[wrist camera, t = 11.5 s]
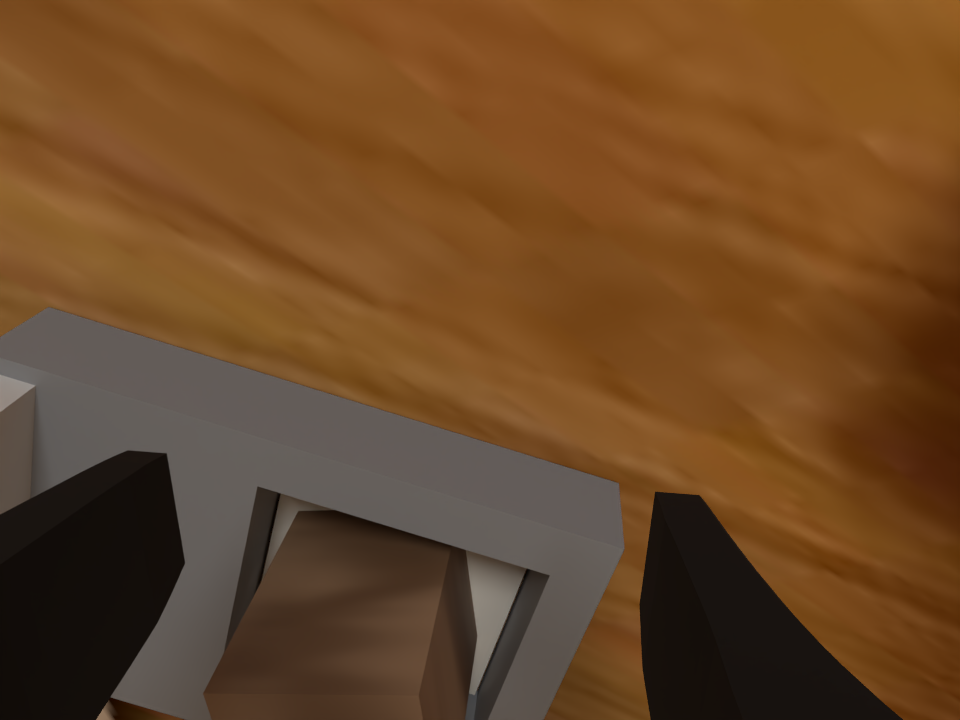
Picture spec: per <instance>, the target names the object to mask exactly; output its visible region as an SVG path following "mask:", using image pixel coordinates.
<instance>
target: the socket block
mask: <svg viewBox="0 0 960 720" xmlns="http://www.w3.org/2000/svg"><path fill="white" fill-rule="evenodd" d="M127 450H131V451H144V452H157V453H167V457H168V463H169V469H170V475H171V481H172V487H173V493H174V499H175V505H176V511H177V517H178V523H179V529H180V535H181V541H182V547H183V553H184V559H185V565H184V567H183V569H182V571H181V574H180V576H179V578H178V581H177V583H176V585H175V587H174V590H173V592H172V594H171V596H170V598H169V601H168V603H167V605H166V607H165V609H164V611H163V613H162V615H161V617H160V619H159V621H158V623H157V625H156V626H155V628H154V630H153V631H152V633H151V634H150V636H149V638H148V639H147V641H146V642H145V644H144V646H143V647H142V649H141V650H140V652H139V653H138V655H137V657H136V658H135V660H134V661H133V663H132V665H131V666H130V668H129V669H128V671H127V672H126V674H125V675H124V677H123V679H122V680H121V682H120V683H119V685H118V686H117V688H116V689H115V691H114V692H113V694H112V696H111V698H114V699H118V700H121V701H125V702H128V703H131V704H135V705H138V706H141V707H145V708H148V709H152V710H155V711H158V712H162V713H165V714H169V715H172V716H175V717H179V718H182V719H185V720H212V719H211V716H210V713H209V710H208V707H207V704H206V701H205V698H204V695H203V692H204V691H205V689H206V687H207V685H208V683H209V681H210V679H211V677H212V675H213V673H214V671H215V669H216V668H217V666H218V664H219V662H220V660H221V658H222V656H223V654H224V652H225V650H226V648H227V646H228V645H229V643H230V641H231V639H232V637H233V635H234V633H235V631H236V629H237V627H238V625H239V623H240V622H241V620H242V618H243V616H244V614H245V612H246V610H247V608H248V606H249V604H250V602H251V600H252V599H253V597H254V595H255V593H256V591H257V589H258V587H259V585H260V580H261V576H262V571H263V566H264V562H265V557H266V553H267V548H268V543H269V539H270V534H271V530H272V525H273V521H274V516H275V511H276V507H277V502H278V498H279V493H281V495H280V499H279V504H278V508H277V513H276V518H275V522H274V527H273V531H272V536H271V540H270V545H269V549H268V554H267V559H266V563H265V568H264V572H263V577H264V576H265V574H266V572H267V570H268V568H269V566H270V564H271V562H272V560H273V558H274V556H275V554H276V553H277V551H278V549H279V547H280V545H281V543H282V541H283V539H284V537H285V535H286V533H287V531H288V530H289V528H290V526H291V524H292V522H293V520H294V518H295V516H296V514H297V512H298V511H318V510H337V511H340V512H343V513H347V514H350V515H353V516H356V517H360V518H363V519H366V520H370V521H373V522H376V523H379V524H383V525H386V526H389V527H393V528H396V529H399V530H402V531H406V532H409V533H412V534H415V535H419V536H422V537H425V538H429V539H432V540H435V541H438V542H442V543H445V544H448V545H452V546H455V547H458V548H461V549H465V550H466V556H467V563H468V570H469V578H470V585H471V592H472V600H473V607H474V614H475V622H476V629H477V642H476V649H475V656H474V663H473V669H472V676H471V683H470V689H469V696H468V703H467V709H466V716H465V720H544V718H545V716H546V713H547V711H548V709H549V707H550V705H551V703H552V701H553V699H554V697H555V694H556V692H557V690H558V688H559V686H560V684H561V682H562V680H563V678H564V675H565V673H566V671H567V669H568V667H569V665H570V663H571V661H572V659H573V656H574V654H575V652H576V650H577V648H578V646H579V644H580V642H581V640H582V637H583V635H584V633H585V631H586V629H587V627H588V625H589V623H590V621H591V619H592V616H593V614H594V612H595V610H596V608H597V606H598V604H599V602H600V600H601V597H602V595H603V593H604V591H605V589H606V587H607V585H608V583H609V581H610V578H611V576H612V574H613V572H614V570H615V568H616V566H617V564H618V562H619V559H620V557H621V555H622V553H623V551H624V539H623V527H622V516H621V504H620V493H619V483H616V482H613V481H610V480H606V479H603V478H600V477H597V476H593V475H590V474H587V473H584V472H581V471H577V470H574V469H571V468H568V467H564V466H561V465H558V464H555V463H551V462H548V461H545V460H542V459H538V458H535V457H532V456H529V455H526V454H522V453H519V452H516V451H513V450H509V449H506V448H503V447H500V446H496V445H493V444H490V443H487V442H483V441H480V440H477V439H474V438H470V437H467V436H464V435H461V434H458V433H454V432H451V431H448V430H445V429H441V428H438V427H435V426H432V425H428V424H425V423H422V422H419V421H415V420H412V419H409V418H406V417H403V416H399V415H396V414H393V413H390V412H386V411H383V410H380V409H377V408H373V407H370V406H367V405H364V404H360V403H357V402H354V401H351V400H348V399H344V398H341V397H338V396H335V395H331V394H328V393H325V392H322V391H318V390H315V389H312V388H309V387H305V386H302V385H299V384H296V383H293V382H289V381H286V380H283V379H280V378H276V377H273V376H270V375H267V374H263V373H260V372H257V371H254V370H250V369H247V368H244V367H241V366H237V365H234V364H231V363H228V362H225V361H221V360H218V359H215V358H212V357H208V356H205V355H202V354H199V353H195V352H192V351H189V350H186V349H182V348H179V347H176V346H173V345H170V344H166V343H163V342H160V341H157V340H153V339H150V338H147V337H144V336H140V335H137V334H134V333H131V332H127V331H124V330H121V329H118V328H115V327H111V326H108V325H105V324H102V323H98V322H95V321H92V320H89V319H85V318H82V317H79V316H76V315H72V314H69V313H66V312H63V311H60V310H56V309H53V308H50V307H48V308H46V309H45V310H43V311H42V312H40V313H38V314H37V315H35V316H34V317H32V318H30V319H29V320H27V321H25V322H24V323H22V324H21V325H19V326H17V327H16V328H14V329H13V330H11V331H9V332H8V333H6V334H5V335H3V336H1V337H0V514H2V513H4V512H6V511H8V510H10V509H11V508H13V507H15V506H17V505H19V504H21V503H23V502H25V501H27V500H29V499H31V498H33V497H34V496H36V495H38V494H40V493H42V492H44V491H46V490H48V489H50V488H52V487H54V486H56V485H57V484H59V483H61V482H63V481H65V480H67V479H69V478H71V477H73V476H75V475H77V474H79V473H80V472H82V471H84V470H86V469H88V468H90V467H92V466H94V465H96V464H98V463H100V462H102V461H104V460H107V459H109V458H111V457H113V456H115V455H118V454H120V453H123V452H125V451H127ZM526 569H528V570H527V572H526V575H525V577H524V580H523V582H522V584H521V581H522V579H523V576H524V574H525V571H526ZM263 577H262V579H263ZM520 584H521V587H520V589H519V592H518V594H517V597H516V599H515V601H514V598H515V596H516V593H517V591H518V588H519V586H520ZM513 601H514V604H513V606H512V603H513ZM511 606H512V609H511V611H510V614H509V616H508V619H507V621H506V623H505V620H506V618H507V615H508V613H509V610H510V608H511ZM504 623H505V626H504V628H503V631H502V633H501V636H500V638H499V640H498V637H499V635H500V632H501V630H502V627H503V625H504ZM497 640H498V643H497V645H496V642H497ZM495 645H496V648H495V650H494V653H493V655H492V657H491V654H492V652H493V649H494V647H495ZM490 657H491V660H490V662H489V659H490ZM488 662H489V665H488V667H487V664H488ZM486 667H487V670H486V672H485V675H484V677H483V679H482V676H483V674H484V671H485V669H486ZM481 679H482V682H481V684H480V681H481ZM479 684H480V687H479V689H478V691H477V688H478V686H479Z"/></svg>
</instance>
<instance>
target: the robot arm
mask: <svg viewBox="0 0 960 720" xmlns="http://www.w3.org/2000/svg"><path fill="white" fill-rule="evenodd" d="M184 565H185V559H184V553H183V547H182V541H181V535H180V529H179V523H178V517H177V511H176V505H175V499H174V493H173V487H172V481H171V475H170V469H169V463H168V457H167V453H157V452H144V451H131V450H127V451H125V452H123V453H120V454H118V455H115V456H113V457H111V458H109V459H107V460H104V461H102V462H100V463H98V464H96V465H94V466H92V467H90V468H88V469H86V470H84V471H82V472H80V473H79V474H77V475H75V476H73V477H71V478H69V479H67V480H65V481H63V482H61V483H59V484H57V485H56V486H54V487H52V488H50V489H48V490H46V491H44V492H42V493H40V494H38V495H36V496H34V497H33V498H31V499H29V500H27V501H25V502H23V503H21V504H19V505H17V506H15V507H13V508H11V509H10V510H8V511H6V512H4V513H2V514H0V720H96V719H97V717H98V716H99V714H100V713H101V711H102V709H103V708H104V706H105V705H106V703H107V702H108V700H109V699H110V697H111V696H112V694H113V692H114V691H115V689H116V688H117V686H118V685H119V683H120V682H121V680H122V679H123V677H124V675H125V674H126V672H127V671H128V669H129V668H130V666H131V665H132V663H133V661H134V660H135V658H136V657H137V655H138V653H139V652H140V650H141V649H142V647H143V646H144V644H145V642H146V641H147V639H148V638H149V636H150V634H151V633H152V631H153V630H154V628H155V626H156V625H157V623H158V621H159V619H160V617H161V615H162V613H163V611H164V609H165V607H166V605H167V603H168V601H169V598H170V596H171V594H172V592H173V590H174V587H175V585H176V583H177V581H178V578H179V576H180V574H181V571H182V569H183V567H184ZM640 623H641V645H642V664H643V674H644V680H645V687H646V693H647V699H648V705H649V711H650V717H651V720H903V719H902V718H900V717H899V716H898V715H897V714H896V713H895V712H893V711H892V710H891V709H890V708H889V707H887V706H886V705H885V704H884V703H883V702H882V701H881V700H879V699H878V698H877V697H876V696H875V695H874V694H873V693H872V692H871V691H870V690H869V689H867V688H866V687H865V686H864V685H863V684H862V683H861V682H860V681H859V680H858V679H857V678H855V677H854V676H853V675H852V674H851V673H850V672H849V671H848V670H847V669H846V668H845V667H843V666H842V665H841V664H840V663H839V662H838V661H837V660H836V659H835V658H834V657H833V656H832V655H831V654H830V653H829V652H828V651H827V650H826V649H825V648H824V647H823V646H822V645H821V644H820V643H819V642H818V641H817V640H816V638H815V637H814V636H813V635H812V634H811V633H810V632H809V631H808V630H807V629H806V628H805V627H804V626H803V625H802V624H801V622H800V621H799V620H798V619H797V618H796V617H795V616H794V615H793V613H792V612H791V611H790V610H789V609H788V608H787V607H786V605H785V604H784V603H783V602H782V601H781V600H780V598H779V597H778V596H777V595H776V594H775V592H774V591H773V590H772V589H771V588H770V586H769V585H768V584H767V583H766V582H765V580H764V579H763V578H762V577H761V576H760V574H759V573H758V572H757V571H756V569H755V568H754V567H753V566H752V564H751V563H750V562H749V561H748V559H747V558H746V557H745V555H744V554H743V553H742V551H741V550H740V549H739V547H738V546H737V545H736V544H735V542H734V541H733V540H732V538H731V537H730V536H729V534H728V533H727V531H726V530H725V529H724V527H723V526H722V525H721V523H720V522H719V521H718V519H717V518H716V516H715V515H714V514H713V512H712V511H711V509H710V508H709V507H708V505H707V504H706V503H705V502H704V500H703V499H702V498H701V497H700V496H699V495H689V494H677V493H664V492H655V498H654V505H653V512H652V519H651V527H650V534H649V541H648V548H647V555H646V563H645V570H644V577H643V584H642V591H641V599H640Z"/></svg>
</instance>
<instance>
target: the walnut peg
mask: <svg viewBox="0 0 960 720" xmlns="http://www.w3.org/2000/svg"><path fill="white" fill-rule="evenodd" d="M476 642H477V629H476V622H475V614H474V607H473V600H472V592H471V585H470V578H469V570H468V563H467V556H466V550H465V549H461V548H458V547H455V546H452V545H448V544H445V543H442V542H438V541H435V540H432V539H429V538H425V537H422V536H419V535H415V534H412V533H409V532H406V531H402V530H399V529H396V528H393V527H389V526H386V525H383V524H379V523H376V522H373V521H370V520H366V519H363V518H360V517H356V516H353V515H350V514H347V513H343V512H340V511H337V510H318V511H298V512H297V514H296V516H295V518H294V520H293V522H292V524H291V526H290V528H289V530H288V531H287V533H286V535H285V537H284V539H283V541H282V543H281V545H280V547H279V549H278V551H277V553H276V554H275V556H274V558H273V560H272V562H271V564H270V566H269V568H268V570H267V572H266V574H265V576H264V577H263V579H262V581H261V583H260V585H259V587H258V589H257V591H256V593H255V595H254V597H253V599H252V600H251V602H250V604H249V606H248V608H247V610H246V612H245V614H244V616H243V618H242V620H241V622H240V623H239V625H238V627H237V629H236V631H235V633H234V635H233V637H232V639H231V641H230V643H229V645H228V646H227V648H226V650H225V652H224V654H223V656H222V658H221V660H220V662H219V664H218V666H217V668H216V669H215V671H214V673H213V675H212V677H211V679H210V681H209V683H208V685H207V687H206V689H205V691H204V692H203V695H204V698H205V701H206V704H207V707H208V710H209V713H210V716H211V719H212V720H465V716H466V709H467V703H468V696H469V689H470V683H471V676H472V669H473V663H474V656H475V649H476Z"/></svg>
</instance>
